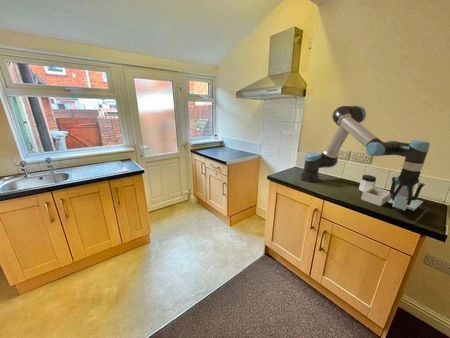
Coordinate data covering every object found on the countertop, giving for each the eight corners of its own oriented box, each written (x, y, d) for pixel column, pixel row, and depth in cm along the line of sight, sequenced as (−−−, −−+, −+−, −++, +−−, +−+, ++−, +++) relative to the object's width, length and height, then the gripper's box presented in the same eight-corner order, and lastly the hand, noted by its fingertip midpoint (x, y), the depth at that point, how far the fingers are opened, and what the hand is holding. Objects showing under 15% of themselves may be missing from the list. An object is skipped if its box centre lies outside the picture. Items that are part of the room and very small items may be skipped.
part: (370, 196, 133) (371, 192, 132) (370, 195, 135) (371, 190, 134) (376, 198, 130) (377, 193, 129) (376, 196, 133) (378, 192, 132)
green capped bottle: (412, 203, 126) (421, 176, 120) (392, 200, 130) (401, 174, 124) (404, 196, 136) (412, 171, 130) (386, 194, 139) (393, 169, 133)
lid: (384, 205, 113) (388, 193, 111) (397, 196, 125) (400, 185, 123) (411, 214, 104) (415, 201, 102) (422, 203, 116) (426, 192, 113)
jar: (369, 194, 137) (373, 179, 134) (356, 190, 144) (360, 176, 140) (374, 192, 142) (378, 177, 138) (362, 188, 149) (365, 174, 145)
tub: (360, 200, 129) (363, 191, 127) (370, 194, 138) (372, 186, 136) (380, 207, 120) (382, 197, 118) (389, 200, 129) (392, 192, 127)
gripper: (389, 166, 107) (378, 203, 114) (432, 175, 94) (417, 216, 101) (394, 164, 111) (383, 200, 118) (435, 172, 98) (420, 212, 105)
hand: (398, 207), depth 110 cm, fingers closed on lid, 4 cm apart
